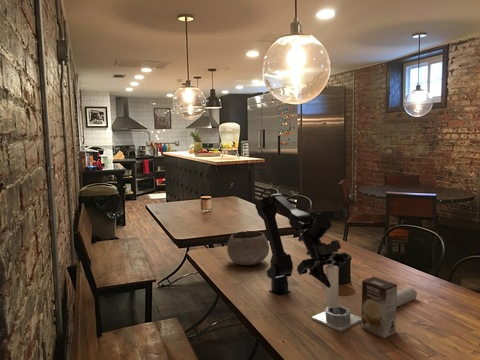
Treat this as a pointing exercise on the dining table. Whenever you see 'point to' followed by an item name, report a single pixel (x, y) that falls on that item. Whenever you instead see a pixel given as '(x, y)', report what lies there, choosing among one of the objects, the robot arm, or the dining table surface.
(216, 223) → the dining table surface
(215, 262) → the dining table surface
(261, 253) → the clay pot
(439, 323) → the dining table surface
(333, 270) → the beige cylinder
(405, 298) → the tube
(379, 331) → the coffee box
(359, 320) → the square plate with nut
